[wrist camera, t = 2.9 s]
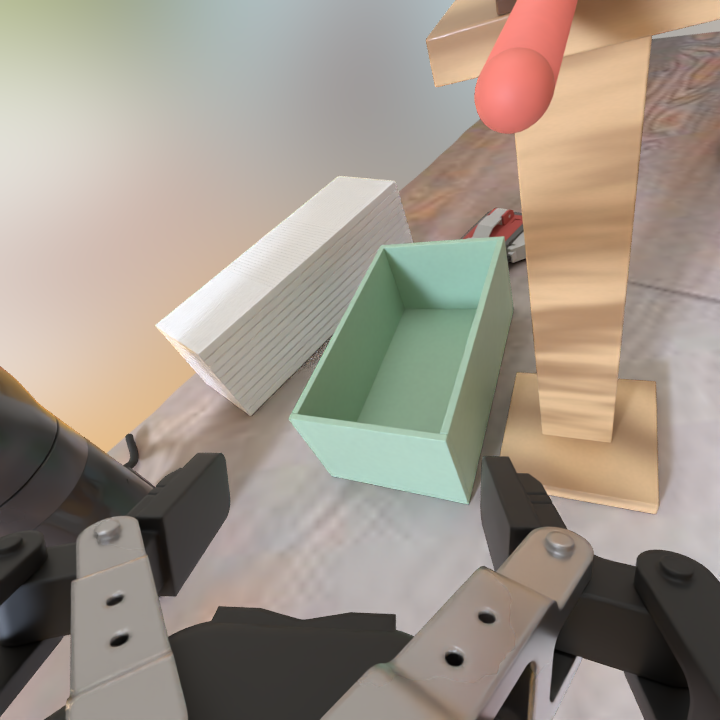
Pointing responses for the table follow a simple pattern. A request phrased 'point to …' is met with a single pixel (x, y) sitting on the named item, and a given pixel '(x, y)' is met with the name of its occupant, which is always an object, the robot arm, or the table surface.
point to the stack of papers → (286, 290)
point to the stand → (579, 243)
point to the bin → (413, 369)
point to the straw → (524, 65)
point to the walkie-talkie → (502, 231)
